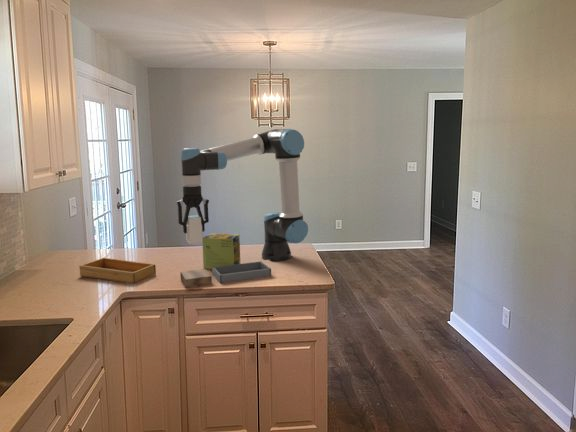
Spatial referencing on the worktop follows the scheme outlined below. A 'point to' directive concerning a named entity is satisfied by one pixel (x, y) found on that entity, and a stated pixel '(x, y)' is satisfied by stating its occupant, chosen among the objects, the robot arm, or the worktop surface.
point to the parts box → (194, 229)
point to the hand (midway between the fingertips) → (194, 239)
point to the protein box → (221, 250)
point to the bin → (241, 272)
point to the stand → (195, 278)
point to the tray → (118, 270)
